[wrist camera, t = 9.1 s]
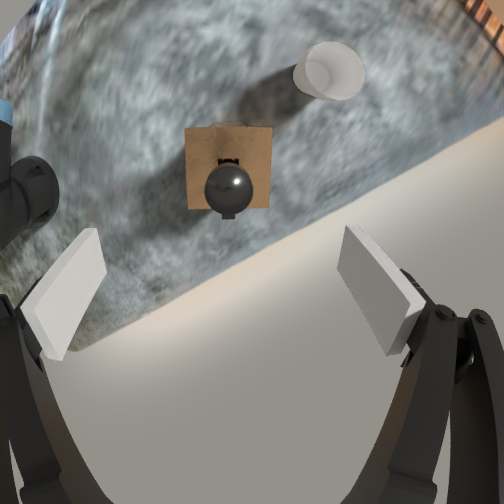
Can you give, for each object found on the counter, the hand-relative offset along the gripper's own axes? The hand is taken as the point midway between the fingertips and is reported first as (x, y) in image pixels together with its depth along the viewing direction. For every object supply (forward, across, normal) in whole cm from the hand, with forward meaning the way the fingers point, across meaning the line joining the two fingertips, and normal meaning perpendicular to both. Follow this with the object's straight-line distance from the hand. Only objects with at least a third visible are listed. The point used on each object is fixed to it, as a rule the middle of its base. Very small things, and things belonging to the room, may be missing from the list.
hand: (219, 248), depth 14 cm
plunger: (+32, +1, -1) cm, 32 cm away
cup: (+37, +14, +13) cm, 42 cm away
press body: (+37, +1, -2) cm, 37 cm away
